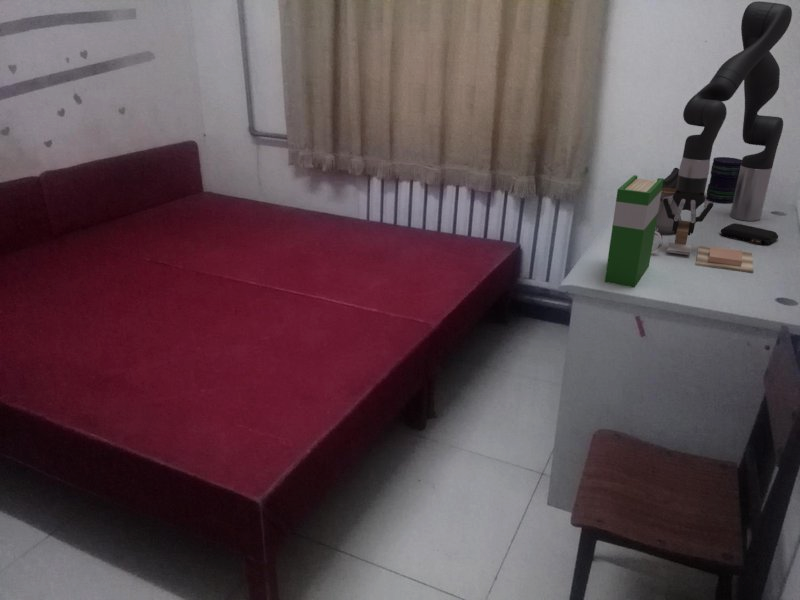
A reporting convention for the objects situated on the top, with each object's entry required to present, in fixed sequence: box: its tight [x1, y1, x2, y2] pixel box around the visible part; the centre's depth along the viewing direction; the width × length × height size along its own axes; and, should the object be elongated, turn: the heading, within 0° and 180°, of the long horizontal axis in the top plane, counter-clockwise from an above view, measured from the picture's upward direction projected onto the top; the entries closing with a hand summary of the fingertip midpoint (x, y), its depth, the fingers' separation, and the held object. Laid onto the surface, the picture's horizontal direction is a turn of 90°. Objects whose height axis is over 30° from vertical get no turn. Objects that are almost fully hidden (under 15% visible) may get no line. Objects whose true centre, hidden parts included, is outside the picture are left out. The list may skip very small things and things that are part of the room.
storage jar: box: [705, 156, 742, 205], centre depth 238 cm, size 10×10×15 cm
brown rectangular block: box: [666, 220, 692, 256], centre depth 186 cm, size 10×6×5 cm, turn 155°
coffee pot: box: [656, 188, 683, 235], centre depth 200 cm, size 21×12×15 cm, turn 144°
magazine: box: [656, 167, 680, 189], centre depth 235 cm, size 18×3×31 cm
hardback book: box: [604, 174, 665, 289], centre depth 167 cm, size 18×7×24 cm, turn 150°
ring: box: [651, 227, 664, 254], centre depth 185 cm, size 7×3×8 cm, turn 61°
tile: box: [709, 246, 743, 266], centre depth 180 cm, size 2×8×9 cm
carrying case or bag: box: [720, 222, 779, 246], centre depth 200 cm, size 11×3×15 cm
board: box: [695, 245, 755, 274], centre depth 182 cm, size 16×14×1 cm
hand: (682, 233), depth 188 cm, fingers closed on brown rectangular block, 3 cm apart
